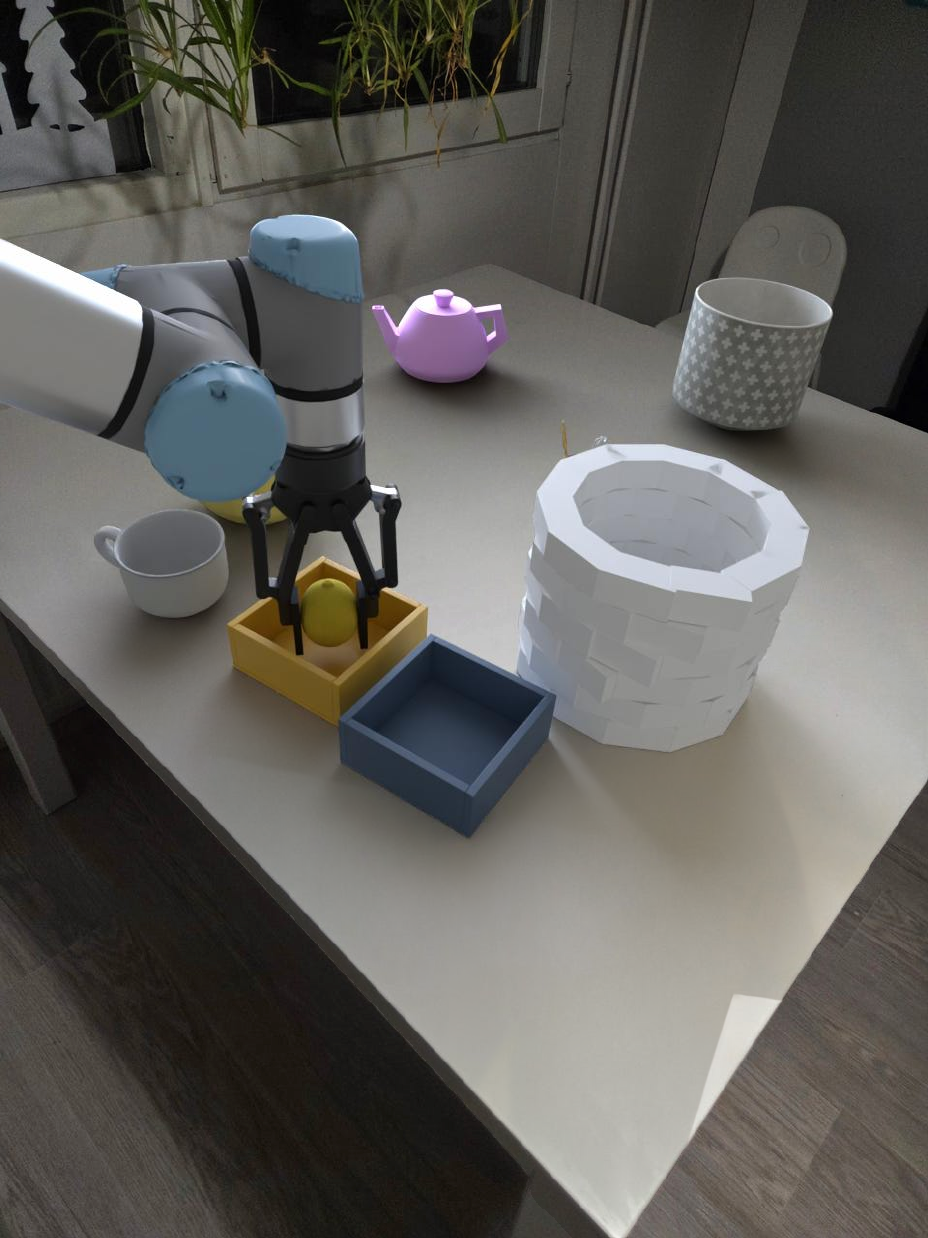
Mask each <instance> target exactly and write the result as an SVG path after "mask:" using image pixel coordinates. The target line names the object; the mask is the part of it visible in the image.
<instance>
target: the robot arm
mask: <svg viewBox="0 0 928 1238" xmlns="http://www.w3.org/2000/svg"><path fill="white" fill-rule="evenodd" d="M247 252H248V255H247V256H239V257H235V258H232V259H221V260H220V259H219V260H205V261H204V260H203V261H193V262H192V261H191V262H176V263H174V262H173V263H162V264H161V263H159V264H147V265H131V264H126V263H125V264H119V265H117V266H115V267H109V268H102V269H97V270H89V271H84V272H79V273H76V272H74V271H72V270H71V269H68V268H66V267H64V266H61V265H60V264H57V263H55V262H53V261H50V260H48V259H46V258H44V257H42V256H40V255H38V254H35V253H33V252H32V251H29V250H27V249H25V248H22V247H20V246H18V245H16V244H15V243H14V244H13V242H12V243H11V242H9V241H7V240H5V239H4V238H2V237H0V404H2V405H6V406H8V407H11V408H14V409H17V410H19V411H22V412H26V413H28V414H32V415H34V416H38V417H40V418H43V419H46V420H49V421H52V422H54V423H58V424H61V425H64V426H67V427H70V428H72V429H75V430H78V431H81V432H84V433H87V434H89V435H93V436H96V437H99V438H100V439H101V438H102V439H104V440H106V441H110V442H112V443H115V444H118V445H120V446H123V447H126V448H128V449H131V450H134V451H137V452H140V453H143V454H145V455H146V457H147V458H148V459H149V461H150V464H151V466H152V467H153V469H154V470H156V472H157V473H158V474H159V475H160V476H161V477H162V479H163V480H164V481H165V483H167V485H168V486H170V487H171V488H173V489H174V490H175V491H177V492H178V493H179V494H181V495H183V496H184V497H186V498H190V499H191V500H195V501H198V502H199V501H204V502H228V501H233V500H237V499H240V498H242V515H243V518H244V519H245V521H246V523H247V524H246V526H247V527H248V528H249V530H250V536H251V537H250V538H251V548H252V550H251V551H252V559H253V574H254V584H255V595H256V597H257V598H258V599H260V600H261V599H266V598H268V597H271V598H274V599H276V600H277V602H278V609H279V618H280V623H281V624H282V626H289V625H293V632H294V641H295V651H296V655H304V651H303V640H302V629H301V619H300V607H299V596H298V586H297V585H294V584H295V580H296V577H297V573H299V569H300V565H301V563H302V558H303V555H304V550H305V547H306V546H307V544H308V541H309V536H310V534H317V533H321V532H324V531H325V532H333V533H338V532H340V533H341V535H342V539H343V541H344V543H346V546H347V549H348V550H349V553H350V555H351V556H350V557H351V558H352V560H353V563H354V565H355V568H356V570H357V573H358V574H359V575H360V578H361V580H356V598H357V605H358V613H359V618H358V624H357V627H358V636H359V643H360V649H368V618H377V616H378V614H379V597H380V590H382V589H383V588H386V587H388V588H390V589H395V588H397V586H399V569H398V548H397V547H398V545H397V519H398V516H399V514H400V511H401V509H402V506H403V502H402V499H401V494H400V492H399V488H398V486H397V484H395V483H389V484H387V485H385V487H382V486H378V485H372V483H371V480H370V479H369V478H368V476H367V461H366V457H367V456H366V434H365V431H364V430H365V427H366V411H365V378H364V371H363V369H364V367H363V366H364V361H363V359H364V357H363V356H364V355H363V354H364V353H363V350H364V345H363V344H364V342H363V341H364V339H363V337H364V331H363V329H364V327H363V326H364V325H363V324H364V323H363V322H364V319H363V318H364V314H363V312H364V303H363V302H364V299H365V292H364V291H363V290H364V289H363V278H362V277H363V276H362V263H361V257H360V256H361V255H360V247H359V242H358V239H357V238H356V236H355V234H354V233H353V232H352V231H351V230H350V229H349V228H348V227H347V226H346V225H344V224H343V223H342V222H340V221H337V220H334V219H331V218H328V217H324V216H317V215H309V214H291V215H290V214H289V215H288V214H287V215H286V214H285V215H279V216H278V217H277V218H267V219H263V220H261V221H259V222H258V223H256V224H255V225H254V226H253V227H252V228H251V230H250V235H249V247H248V249H247ZM262 371H263V373H262ZM274 474H275V480H274V482H273V484H272V486H271V490H270V491H269V492H266V493H263V494H260V495H257V496H255V494H253V492H255V491H257V490H258V489H259V488H261V487H262V486H263V485H265V484H266V483H267V482H268V481H269V480H270V479H271V477H272V476H273V475H274ZM369 502H372V503H373V508H374V511H375V512H376V513H378V521H379V539H380V553H381V554H380V556H381V557H380V559H381V568H379V569H376V570H375V567H374V565H373V562H372V559H371V557H370V554H369V552H368V549H367V547H366V543H365V541H364V539H363V537H362V534H361V532H360V529H359V527H358V524H357V521H356V518H357V517H358V516H359V515H360V514H361V512H362V511H363V510H364V508H365V507H366V506H367V505H368V504H369ZM274 506H275V507H276V508H277V509H278V510H279V511H280V512H282V513H283V514H284V515H285V516H286V517H287V520H289V521H290V522H289V528H288V533H287V537H286V540H285V545H284V549H283V553H282V557H281V561H280V565H279V569H278V573H277V575H275V577H271V576H270V572H269V570H270V569H269V557H268V541H267V528H266V527H267V526H266V525H267V524H265V522H266V521H267V520H268V519H269V518H270V516H271V514H270V510H271V508H272V507H274Z"/></svg>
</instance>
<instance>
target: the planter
mask: <svg viewBox="0 0 928 1238" xmlns="http://www.w3.org/2000/svg"><path fill="white" fill-rule="evenodd" d="M833 311H834V310H833V309H832V307H831V306H830V304H829V303H827V302H826V300H824V299H822V297H821V298H820V297H819V296H818V295H815V293H811V292H810V291H807V290H805V289H802V288H799V287H797V286H793V285H789V284H785V283H782V282H777V281H771V280H766V279H760V278H759V279H758V278H751V277H750V278H749V277H723V278H722V277H721V278H714V279H709V280H708V281H704V282H702V283H701V284H699V285H698V287H696V289H695V292H694V297H693V301H692V305H691V309H690V313H689V317H688V321H687V324H686V330H685V333H684V338H683V342H682V345H681V346H682V347H681V351H680V353H679V358H678V362H677V366H676V371H675V375H674V379H673V383H672V388H671V394H672V395H671V396H672V398H673V399H674V401H675V402H676V403H677V404H678V406H680V407H681V409H684V411H686V412H688V413H690V414H691V415H693V416H695V417H697V418H699V419H700V420H702V421H704V423H705V422H706V423H707V424H709V425H712V426H714V427H717V428H720V429H723V430H728V431H735V432H749V431H765V430H773V429H778V428H782V427H786V426H787V425H789V424H791V423H793V422H794V421H795V419H796V418H797V417H798V415H799V411H800V408H801V406H802V404H803V400H804V397H805V395H806V391H807V390H808V385H809V384H810V381H811V378H812V375H813V372H814V370H815V367H816V364H817V361H818V358H819V356H820V353H821V350H822V347H823V344H824V341H825V339H826V335H827V334H828V330H829V327H830V324H831V322H832V319H833V316H834V312H833Z"/></svg>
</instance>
